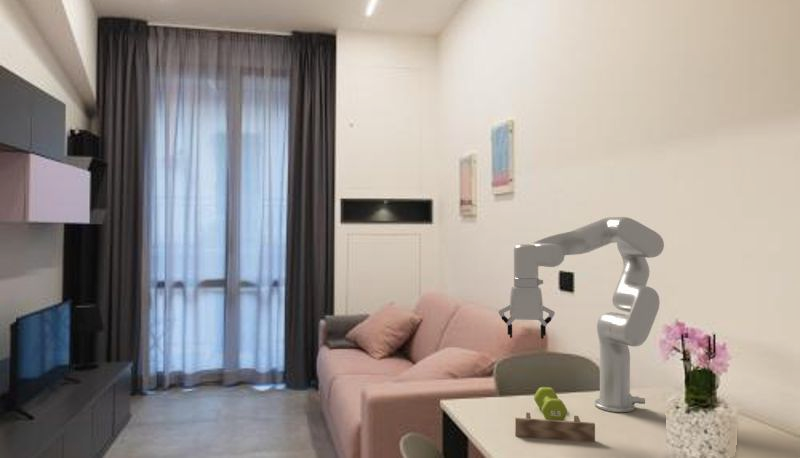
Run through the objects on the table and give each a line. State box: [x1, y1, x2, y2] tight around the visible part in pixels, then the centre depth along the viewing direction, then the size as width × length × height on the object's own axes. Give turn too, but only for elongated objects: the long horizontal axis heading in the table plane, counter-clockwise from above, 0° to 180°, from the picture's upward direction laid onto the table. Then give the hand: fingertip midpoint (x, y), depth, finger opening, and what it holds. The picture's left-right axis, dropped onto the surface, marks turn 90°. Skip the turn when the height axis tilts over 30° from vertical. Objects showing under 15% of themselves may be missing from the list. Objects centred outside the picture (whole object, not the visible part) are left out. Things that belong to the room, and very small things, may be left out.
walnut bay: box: [514, 412, 596, 443], centre depth 170 cm, size 22×11×5 cm, turn 79°
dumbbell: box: [533, 386, 568, 421], centre depth 185 cm, size 16×8×7 cm, turn 176°
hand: (526, 337), depth 182 cm, fingers open, 9 cm apart
